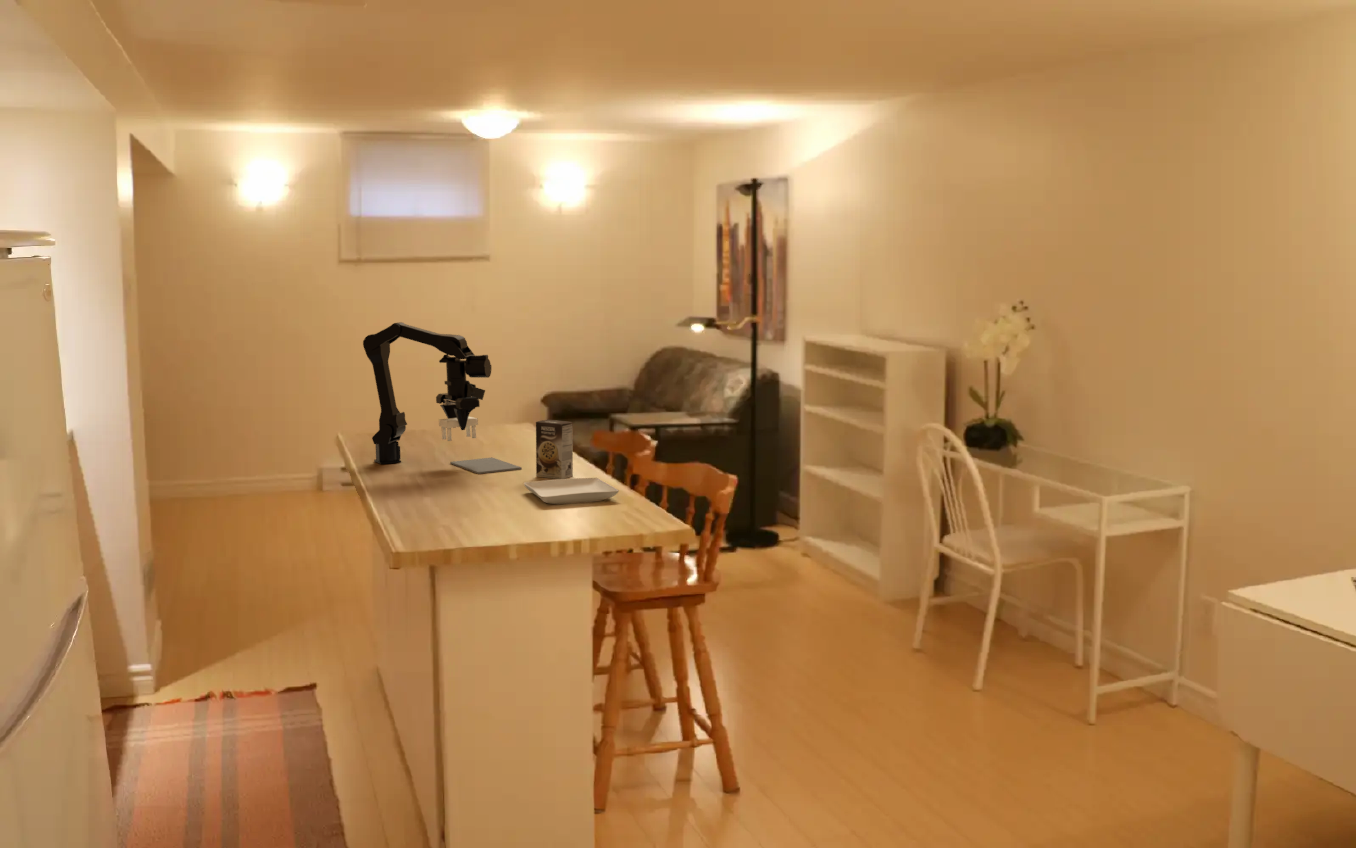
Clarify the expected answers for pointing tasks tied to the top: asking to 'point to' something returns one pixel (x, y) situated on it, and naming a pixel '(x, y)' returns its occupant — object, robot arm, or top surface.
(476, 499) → the top surface
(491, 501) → the top surface
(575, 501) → the salad plate
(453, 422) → the footstool
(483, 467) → the mat
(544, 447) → the coffee box
